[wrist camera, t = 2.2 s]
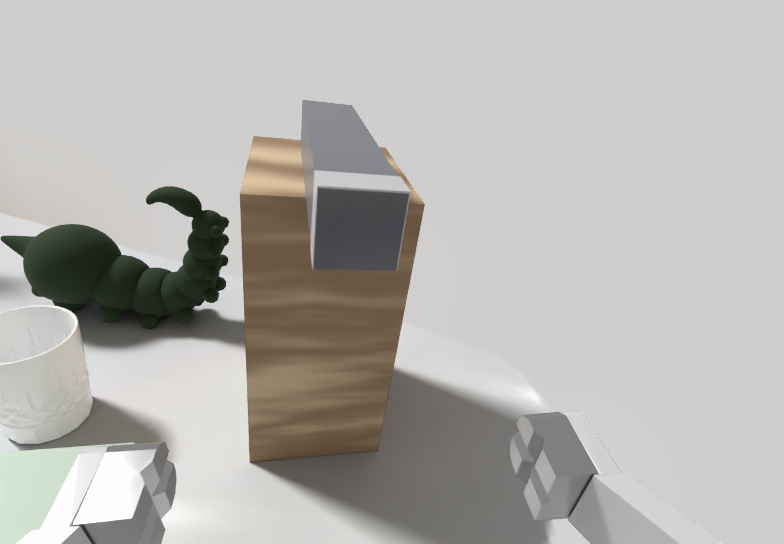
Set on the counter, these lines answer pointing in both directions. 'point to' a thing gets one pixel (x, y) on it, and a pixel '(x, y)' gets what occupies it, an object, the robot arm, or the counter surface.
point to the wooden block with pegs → (313, 320)
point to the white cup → (42, 374)
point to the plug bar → (349, 192)
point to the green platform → (31, 487)
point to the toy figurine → (127, 267)
